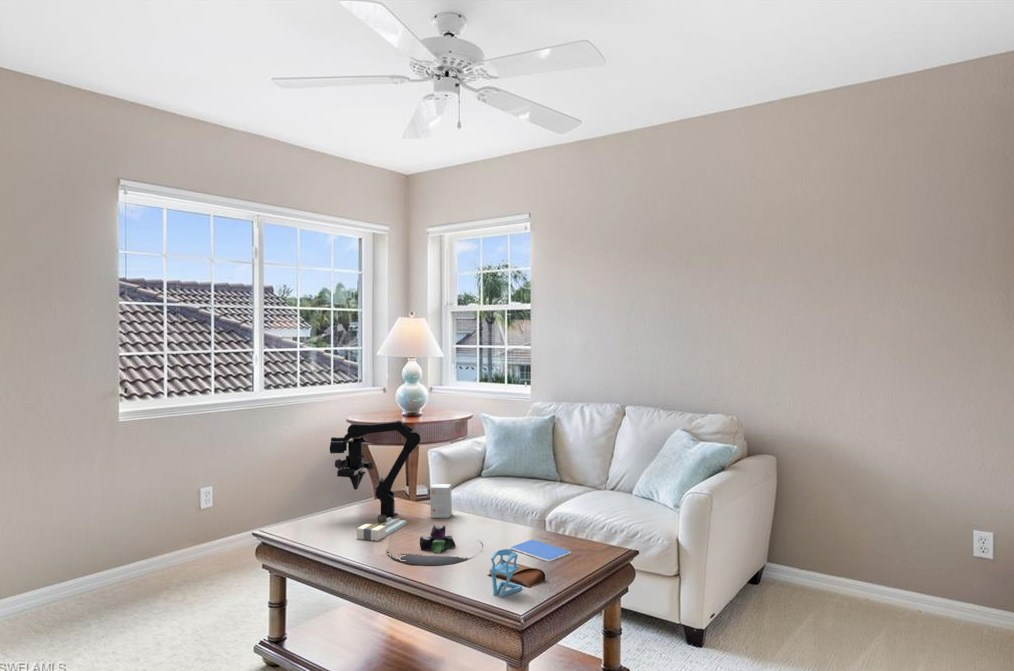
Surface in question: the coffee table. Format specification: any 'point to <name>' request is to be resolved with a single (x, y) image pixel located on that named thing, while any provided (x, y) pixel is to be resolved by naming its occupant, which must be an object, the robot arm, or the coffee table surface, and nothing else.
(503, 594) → the chair
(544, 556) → the tablet computer
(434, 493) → the small box
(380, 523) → the bolt
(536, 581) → the sunglasses case
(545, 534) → the coffee table surface
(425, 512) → the coffee table surface
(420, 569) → the coffee table surface
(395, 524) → the door and jamb
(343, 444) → the robot arm
